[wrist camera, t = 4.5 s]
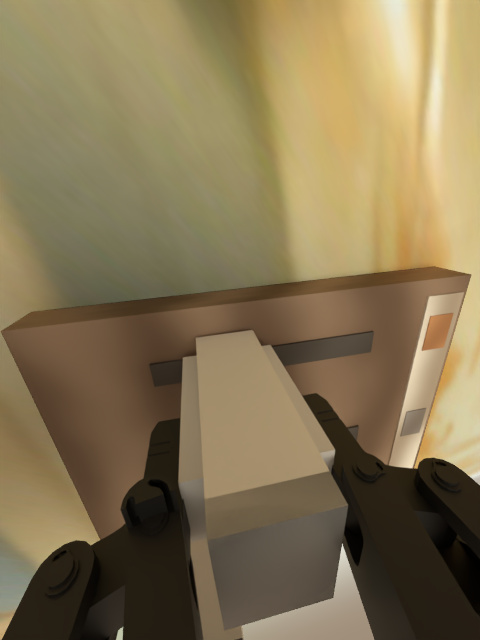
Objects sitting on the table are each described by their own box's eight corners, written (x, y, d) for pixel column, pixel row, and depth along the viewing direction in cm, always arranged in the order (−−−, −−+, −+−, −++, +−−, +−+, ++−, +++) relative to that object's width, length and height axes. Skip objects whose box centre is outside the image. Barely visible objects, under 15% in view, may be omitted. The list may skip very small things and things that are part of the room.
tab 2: (204, 399, 15) (224, 630, 7) (195, 337, 13) (206, 541, 5) (255, 391, 15) (333, 597, 7) (252, 329, 14) (348, 505, 5)
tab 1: (179, 494, 17) (171, 743, 9) (169, 452, 16) (148, 708, 8) (223, 484, 18) (252, 715, 10) (217, 442, 16) (247, 675, 8)
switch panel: (127, 544, 23) (119, 584, 20) (31, 312, 14) (-2, 333, 11) (383, 482, 26) (403, 510, 24) (434, 266, 17) (474, 275, 15)
